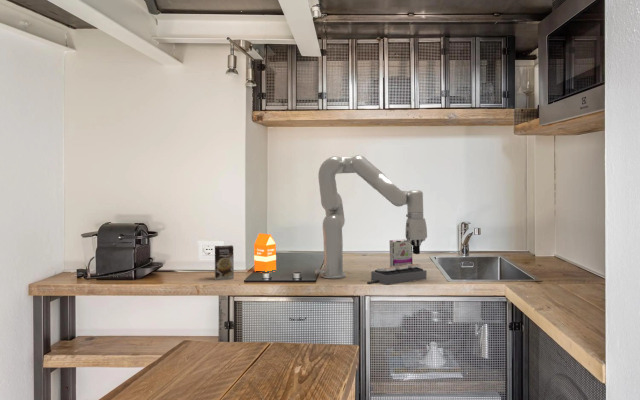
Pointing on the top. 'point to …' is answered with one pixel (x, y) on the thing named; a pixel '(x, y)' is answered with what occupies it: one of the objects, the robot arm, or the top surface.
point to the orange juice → (265, 253)
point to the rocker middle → (401, 267)
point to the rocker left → (386, 269)
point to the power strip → (398, 275)
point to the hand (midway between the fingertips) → (416, 253)
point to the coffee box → (224, 262)
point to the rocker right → (412, 265)
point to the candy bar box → (400, 252)
